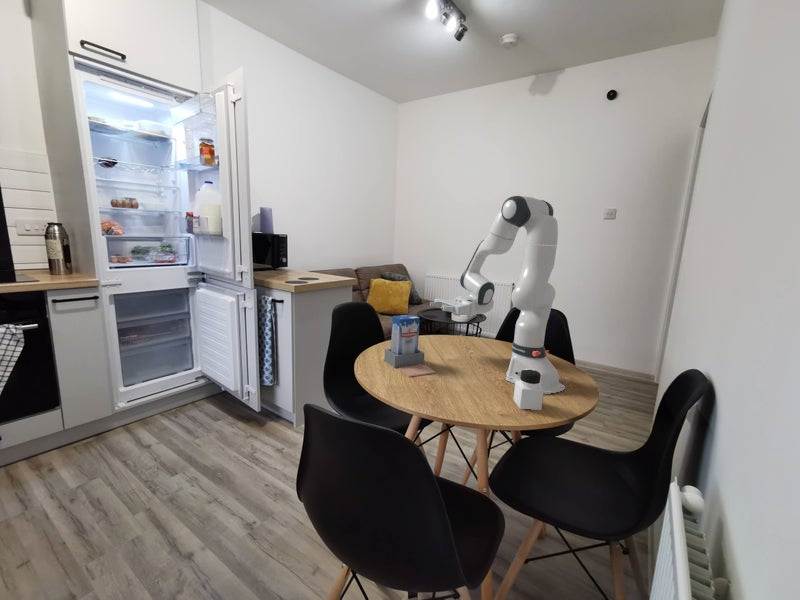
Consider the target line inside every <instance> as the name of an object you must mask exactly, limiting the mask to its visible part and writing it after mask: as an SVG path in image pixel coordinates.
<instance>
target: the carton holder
mask: <svg viewBox="0 0 800 600" xmlns="http://www.w3.org/2000/svg"><path fill="white" fill-rule="evenodd" d="M383 360H384V361H385V362H386V363H387V364H389V365H390V366H391V367H392V366H393V369H398V367H399V368H400V367H405V366H413V365H414V366H415V365H419V364H421V365H422V364H424V365H425V352H424V351H422V350H420V349H419V348H418V353H413V354H404V355H395V354H393V353H392V352H391V348H385V349H384V359H383Z"/></svg>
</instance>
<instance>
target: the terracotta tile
mask: <svg viewBox="0 0 800 600" xmlns="http://www.w3.org/2000/svg"><path fill="white" fill-rule="evenodd" d="M397 369H398V370H399V371H400V372H401V371H402V372H401V373H402V374H404V375H405V374H406V375H405V376H407V377H408V378H413V377H412V376H414V377H419V375H420V376H427V375H432V374H436V370H433V369H431V368H430V367H428V365H426V364H425V363H424V364H421V365H414V366H407V367H399V368H397ZM426 374H427V375H426Z"/></svg>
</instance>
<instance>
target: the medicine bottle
mask: <svg viewBox="0 0 800 600" xmlns="http://www.w3.org/2000/svg"><path fill="white" fill-rule="evenodd" d="M540 377H541V374H540V373H539V372H538V371H536V370H533V369H523V370H522V371H521V378H520V381H518V380H516V381H515V384H514V392H513V397H512V399H513V401H514V402H515V404H516V406H517V407H518V408H519V409H520V410H525V409H531V410H530V411H542V410H543V409H542V408H543V400H544V395H545V394H544V390H543V389H542V388H541V387H540Z"/></svg>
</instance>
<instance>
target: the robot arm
mask: <svg viewBox="0 0 800 600" xmlns="http://www.w3.org/2000/svg"><path fill="white" fill-rule="evenodd" d="M558 226H559V225H558V220H557V219H556V218H555V217H554V208H553V206H552V204H551V203H549V202H548V201H545V200H543V199H538V198H534V197H532V196H522V195H521V196H520V195H514V196H513V195H512V196H510V197H508V198H507V199H505V200H504V202H503V204H502V206H501V210H499V211H498V212H497V214H496V216H495V218H494V220H493V222H492V224H491V226H490V229H489V231H488V234H487V236H486V237H485V239H482V240H481V241H480V242H479V243H478V245H477V247H476V249H475V250H474V253H473V255H472V257H471V259H470V261H469V262H468V265H467V267H466V268H465V270H464V271H463V273H462V274H461V276H460V278H459V279H460V280H459V283H460V286H461V287H462V288H463V289H465V290H466V291H467V292H469V293H470V294H469V295H458V296H457V295H456V297H455V298H454V299H451V298H450V299H449V298H443V297H442V298H441V297H440V298H439V297H438V298H434V300H433V301H432V302H430V303H429V306H430V307H432V308H434V307H436V308H440V309H441V310H442V311H443V312H451V313H453V314H455V315H458V316H467V317H473V316H474V315H481V314H486V313H488V312H491V310H492V309H493V308H494V300H493V297H494V294H495V285H494V283H493V282H491V280H490V279H488V278H486V277H485V276H483V275H482V274H481V269H482V266H483V264H484V263H485V261H486V259H487V257H488V256H490V255H497V256H498V255H504V254H506V253H508V252H509V251H510V250H511V248H512V247H513V244H514V243H515V240H516V237H517V234H518V232H519V230H520V228H522V227H523V228H524V229H525V231H526V239H525V245H524V253H523V261H522V266H521V269H520V271H519V272H520V273H519V276H518V278H517V282H516V285H515V287H514V289H513V290H512V293H511V296H510V297H511V298H510V299H511V302H512V305H513V307H515V308H516V309H518V310H520V313H519V316H518V318H517V320H516V323H515V328H514V336H513V337H514V339H513V341H512V344H511V351H512V352H511V357H510V360H509V366H508V368H507V371H506V372H505V375H506V377H505V381H508V382H510V383H512V384H514V385H515V381H516V380H518V381H520V378H521V371H522V370H523V369H533V370H536V371H538V372H539V373H540V374H541V377H540V387H541V388H542V389H543V390H544V395H552V394H551V393H554V394H557V393H556V392H559V393H561V392H560V391H562V392H564V391H565V390H564V389H566V386H565V385H564V384H562V383H561V382H560V375H559V371H558V369H556V367H555V366H554V364H552V362H551V361H550V360H549V359H548V357H547V354H549V353H550V352H549V351H550V349H549V350H546V347H545V345H544V344H545V336H546V329H547V324H548V320H549V319H550V314H551V311H552V310H551V309H552V307H553V302H554V300H555V298H556V293H557V292H556V289H555V288H554V286H553V285H552V284H551V283H550V282H549V280H550V277H551V274H552V271H553V270H554V268H555V262H556V254H557V248H558V239H559V238H558V237H559V227H558ZM563 390H564V391H563Z"/></svg>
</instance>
